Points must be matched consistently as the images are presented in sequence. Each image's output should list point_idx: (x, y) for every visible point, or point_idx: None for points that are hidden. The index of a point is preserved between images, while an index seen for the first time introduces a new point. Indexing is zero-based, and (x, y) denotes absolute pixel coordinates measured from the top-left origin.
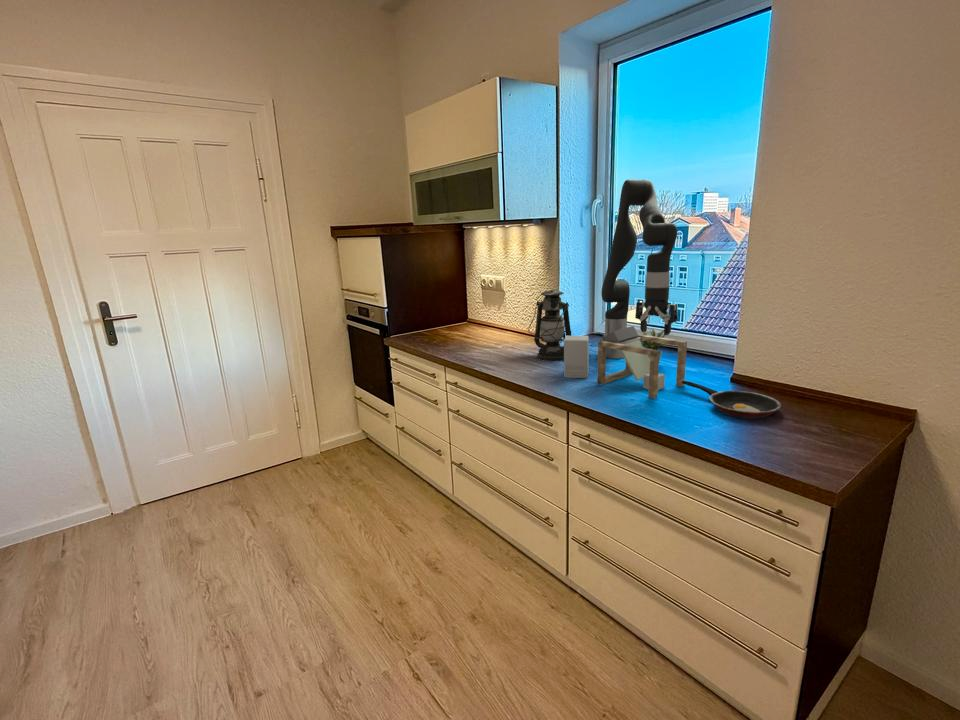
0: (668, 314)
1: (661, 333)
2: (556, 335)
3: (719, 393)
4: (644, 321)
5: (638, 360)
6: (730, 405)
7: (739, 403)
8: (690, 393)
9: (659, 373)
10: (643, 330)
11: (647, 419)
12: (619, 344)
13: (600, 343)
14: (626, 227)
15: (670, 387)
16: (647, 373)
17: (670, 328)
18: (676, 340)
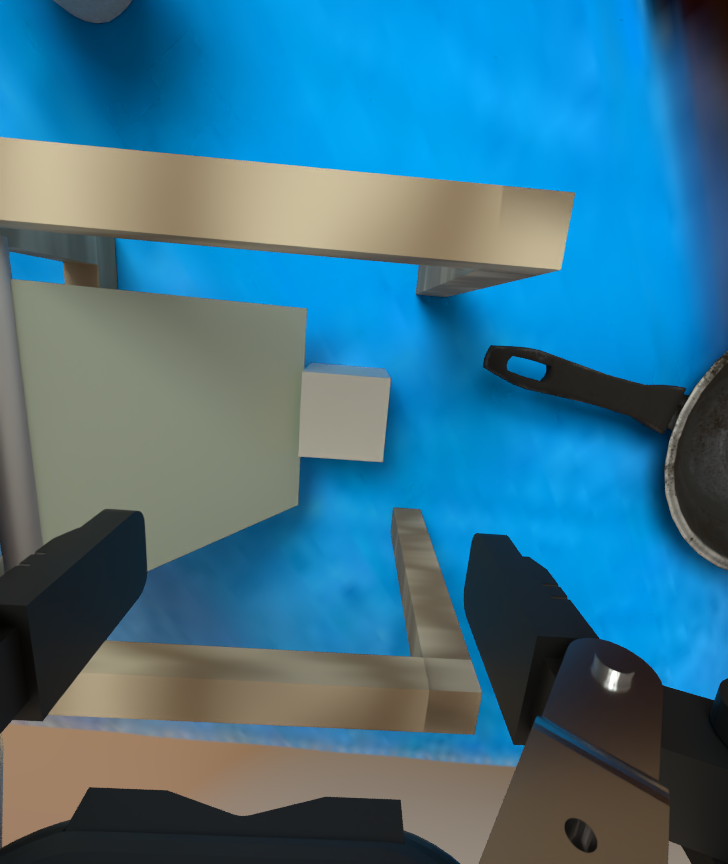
0: (658, 841)
1: None
2: None
3: (691, 409)
4: (34, 686)
5: (212, 438)
6: (719, 432)
7: None
8: (521, 369)
9: (355, 377)
10: (134, 591)
11: (493, 717)
12: (90, 698)
13: None
14: None
15: (406, 340)
16: (300, 421)
17: (568, 613)
18: (450, 221)
